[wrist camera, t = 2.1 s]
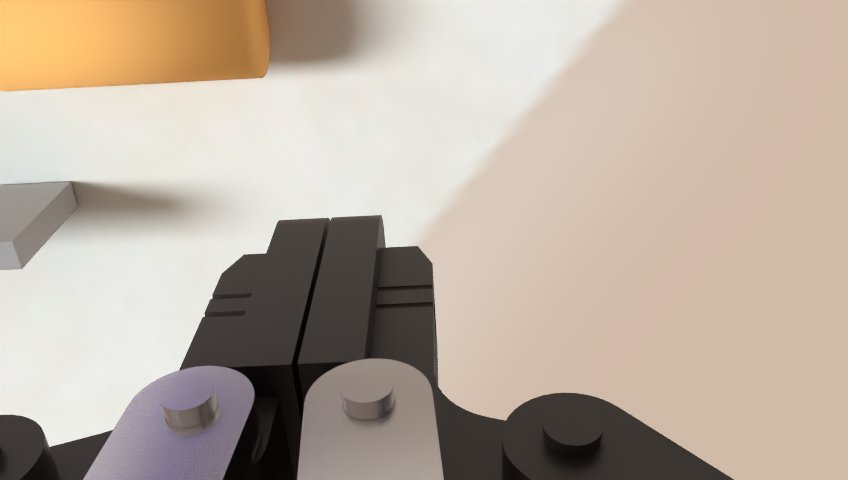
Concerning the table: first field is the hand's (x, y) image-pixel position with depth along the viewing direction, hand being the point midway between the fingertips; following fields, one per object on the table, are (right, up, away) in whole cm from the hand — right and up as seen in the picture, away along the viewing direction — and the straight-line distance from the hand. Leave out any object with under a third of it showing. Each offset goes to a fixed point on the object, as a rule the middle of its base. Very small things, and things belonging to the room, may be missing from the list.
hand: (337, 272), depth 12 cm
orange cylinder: (-8, +7, +14) cm, 18 cm away
